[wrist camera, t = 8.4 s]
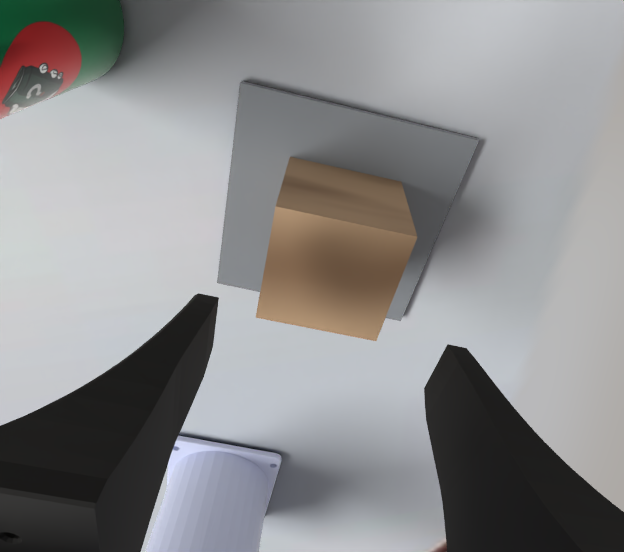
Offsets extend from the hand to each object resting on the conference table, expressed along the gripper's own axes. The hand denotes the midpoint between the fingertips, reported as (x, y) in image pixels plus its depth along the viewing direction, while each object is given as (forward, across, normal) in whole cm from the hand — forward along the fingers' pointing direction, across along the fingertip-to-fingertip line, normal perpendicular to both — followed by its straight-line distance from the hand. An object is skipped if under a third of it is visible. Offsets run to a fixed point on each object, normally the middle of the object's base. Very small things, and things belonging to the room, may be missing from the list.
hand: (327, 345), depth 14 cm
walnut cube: (+8, 0, 0) cm, 8 cm away
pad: (+9, 0, 0) cm, 9 cm away
